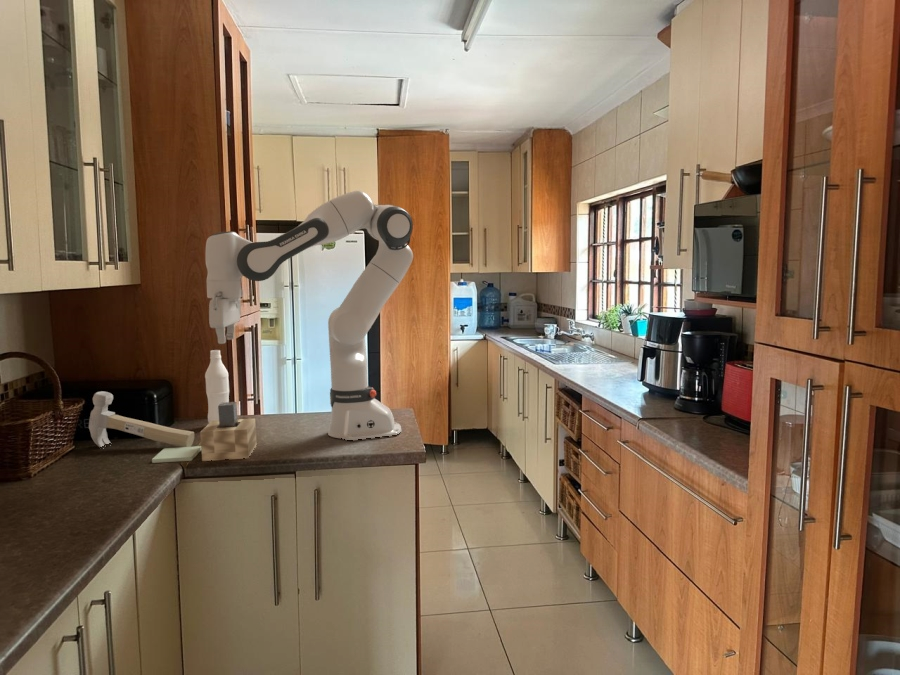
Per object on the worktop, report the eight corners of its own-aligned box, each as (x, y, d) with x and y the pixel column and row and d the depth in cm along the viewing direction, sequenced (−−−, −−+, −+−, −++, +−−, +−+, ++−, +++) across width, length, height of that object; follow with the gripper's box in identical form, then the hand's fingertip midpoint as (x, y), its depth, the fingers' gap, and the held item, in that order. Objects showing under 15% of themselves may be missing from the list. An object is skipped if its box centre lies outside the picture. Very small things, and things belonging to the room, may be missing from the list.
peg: (239, 443, 168) (236, 401, 166) (236, 447, 164) (233, 404, 162) (224, 444, 167) (221, 402, 166) (220, 448, 163) (218, 405, 162)
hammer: (198, 413, 172) (102, 390, 174) (190, 417, 168) (91, 393, 170) (190, 464, 174) (95, 440, 176) (182, 469, 170) (84, 445, 172)
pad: (201, 449, 169) (201, 446, 169) (191, 460, 159) (191, 456, 159) (164, 451, 168) (164, 448, 168) (152, 462, 158) (151, 459, 158)
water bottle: (203, 426, 194) (198, 351, 191) (223, 422, 200) (219, 348, 197) (216, 430, 190) (211, 352, 187) (236, 425, 195) (231, 350, 192)
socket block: (256, 445, 172) (255, 418, 171) (248, 458, 160) (246, 429, 160) (213, 447, 171) (211, 420, 170) (202, 461, 159) (200, 431, 158)
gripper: (227, 292, 153) (229, 345, 155) (244, 290, 173) (245, 337, 175) (201, 292, 152) (203, 346, 154) (221, 290, 172) (223, 337, 174)
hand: (226, 341), depth 164 cm, fingers open, 8 cm apart
